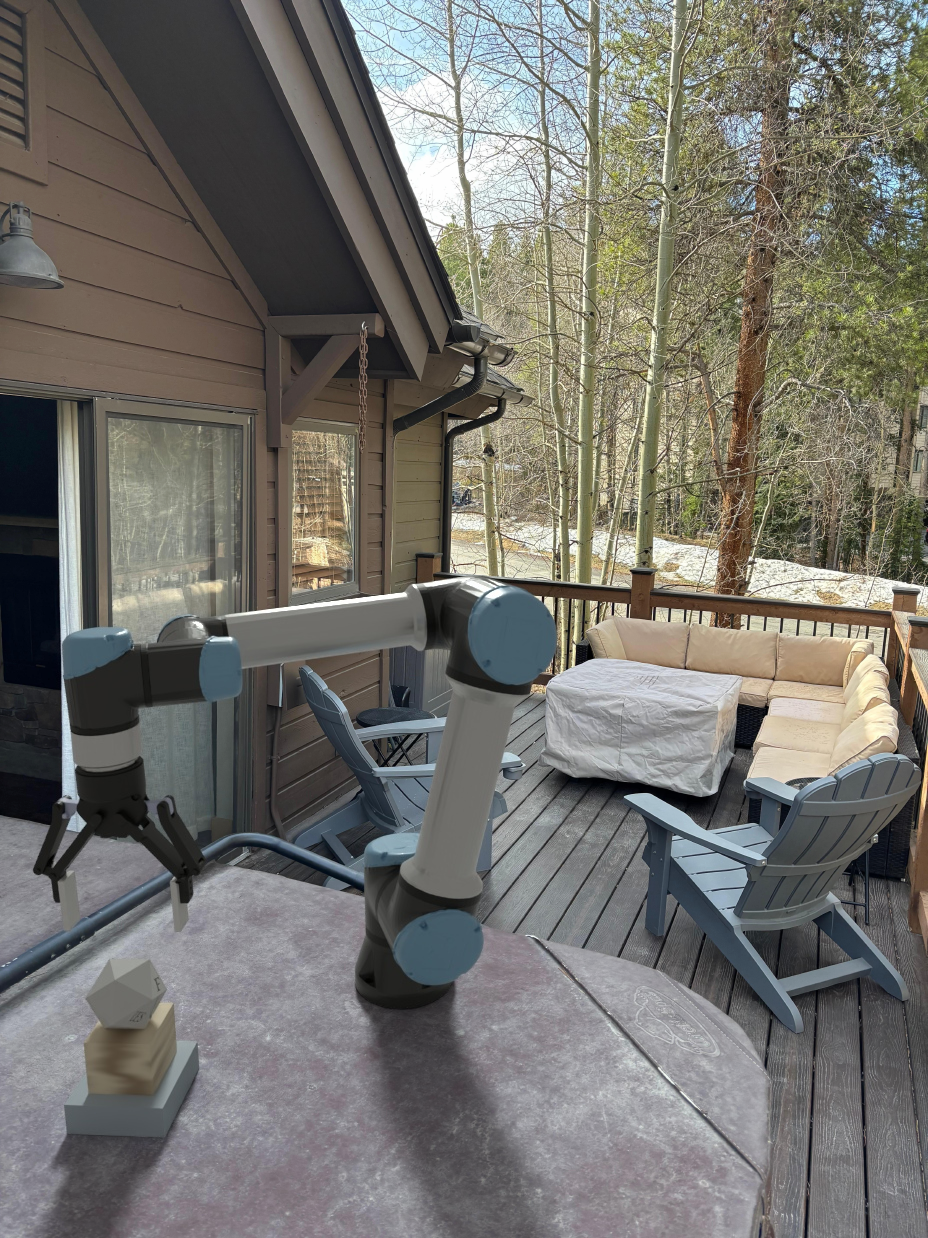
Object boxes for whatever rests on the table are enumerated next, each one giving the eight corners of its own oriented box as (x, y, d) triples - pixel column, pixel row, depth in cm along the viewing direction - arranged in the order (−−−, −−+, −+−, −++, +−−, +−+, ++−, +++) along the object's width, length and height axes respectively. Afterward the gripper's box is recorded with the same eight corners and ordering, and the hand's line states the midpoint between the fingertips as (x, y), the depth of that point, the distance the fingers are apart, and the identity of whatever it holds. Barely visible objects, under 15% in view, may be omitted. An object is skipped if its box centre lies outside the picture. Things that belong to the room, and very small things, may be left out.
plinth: (199, 1068, 116) (197, 1041, 116) (164, 1137, 105) (162, 1108, 104) (110, 1064, 117) (108, 1038, 116) (66, 1134, 105) (63, 1105, 104)
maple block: (177, 1051, 114) (173, 1003, 112) (153, 1096, 106) (149, 1044, 104) (116, 1049, 114) (112, 1001, 113) (88, 1094, 106) (83, 1042, 105)
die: (118, 1060, 103) (165, 987, 104) (60, 1018, 104) (108, 946, 105) (145, 1038, 111) (188, 971, 112) (91, 1000, 112) (134, 933, 113)
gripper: (224, 749, 105) (237, 910, 109) (22, 749, 106) (42, 908, 111) (203, 772, 98) (217, 944, 102) (-14, 772, 99) (9, 942, 103)
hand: (126, 926), depth 106 cm, fingers open, 13 cm apart
